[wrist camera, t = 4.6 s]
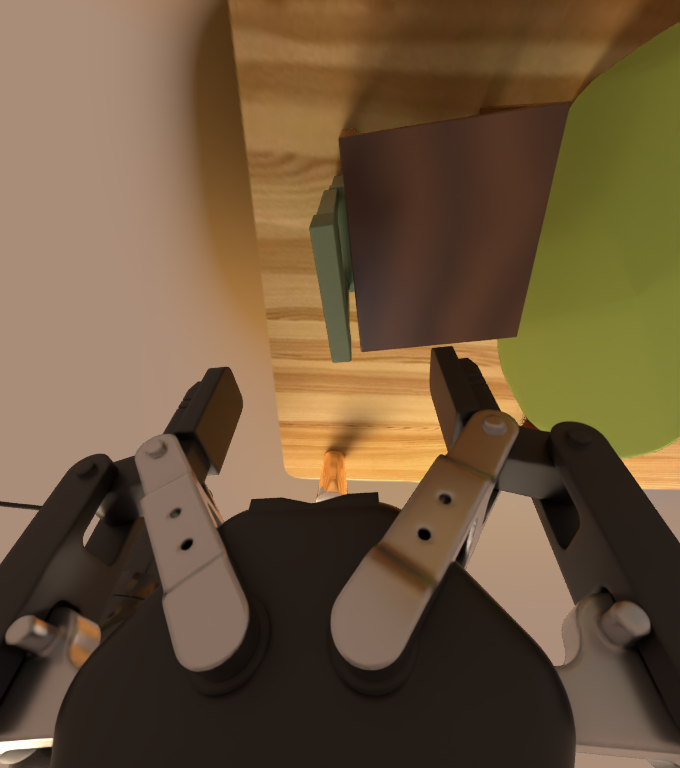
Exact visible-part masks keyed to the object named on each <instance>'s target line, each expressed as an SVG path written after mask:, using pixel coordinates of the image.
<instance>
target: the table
mask: <svg viewBox="0 0 680 768" xmlns="http://www.w3.org/2000/svg"><path fill="white" fill-rule="evenodd" d="M570 103H571V102H554V103H537V104H520V105H504V106H490V107H484V108H480V113H479V115H476V116H469V117H463V118H457V119H450V120H444V121H438V122H431V123H425V124H418V125H412V126H406V127H399V128H393V129H387V130H380V131H374V132H368V133H361V134H356V133H355V130H354V128H352V129H346V130H342V132H341V134H340V137H339V146H340V156H341V165H342V175H343V184H344V194H345V203H346V213H347V222H348V232H349V241H350V251H351V260H352V270H353V279H354V289H355V298H356V308H357V317H358V327H359V336H360V346H361V352H368V351H378V350H389V349H399V348H409V347H420V346H430V345H440V344H451V343H461V342H471V341H482V340H492V339H502V338H513V337H517V334H518V330H519V326H520V321H521V317H522V312H523V308H524V304H525V299H526V295H527V291H528V286H529V282H530V278H531V273H532V269H533V264H534V260H535V256H536V251H537V247H538V243H539V238H540V234H541V230H542V225H543V221H544V217H545V212H546V208H547V203H548V199H549V195H550V190H551V186H552V182H553V177H554V173H555V169H556V164H557V160H558V155H559V151H560V147H561V142H562V138H563V134H564V129H565V125H566V121H567V116H568V112H569V108H570Z"/></svg>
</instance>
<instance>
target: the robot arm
mask: <svg viewBox="0 0 680 768" xmlns="http://www.w3.org/2000/svg"><path fill="white" fill-rule="evenodd" d="M430 392H431V396H432V400H433V403H434V407H435V410H436V413H437V417H438V420H439V423H440V427H441V430H442V434H443V437H444V440H445V444H446V447H447V451H448V453H447V454H446V456H445V455H442V454H441V455H439V456H438V457H437V458H436V460H435V461H434V463H433V464H432V466H431V467H430V469H429V470H428V472H427V473H426V475H425V476H424V478H423V479H422V480H421V482H420V483H419V485H418V487H417V488H416V490H415V491H414V492H413V494H412V495H411V497H410V498H409V500H408V501H407V503H406V504H405V506H404V507H403V509H402V510H401V509H399V508H397V507H394V506H392V505H389V504H385V503H381V502H379V498H378V492H373V493H356V494H344V495H341V496H337V497H334V498H331V499H327V500H324V501H320V502H317V503H307V502H302V501H297V500H291V499H286V498H265V499H252V500H251V503H250V507H249V510H246V511H244V512H241V513H239V514H237V515H235V516H234V517H231V518H230V519H228V520H227V521H225V522H224V520H223V518H222V516H221V514H220V512H219V510H218V508H217V506H216V504H215V502H214V500H213V497H212V495H211V493H210V491H209V489H208V487H207V485H206V484H205V479H206V476H207V475H219V473H220V471H221V468H222V465H223V462H224V459H225V457H226V454H227V451H228V448H229V445H230V443H231V440H232V437H233V434H234V432H235V429H236V426H237V423H238V420H239V418H240V415H241V412H242V408H243V400H242V396H241V393H240V391H239V388H238V385H237V383H236V381H235V378H234V376H233V373H232V371H231V369H230V368H229V367H219V368H210V369H208V370H207V372H206V374H205V376H204V377H203V379H202V381H201V382H197V383H196V384H195V385H194V386H192V387H191V388H190V389H189V390H188V392H187V393H186V395H185V397H184V399H183V401H182V402H181V404H180V405H179V409H177V410H176V412H175V414H174V416H173V417H172V419H171V421H170V423H169V424H168V426H167V428H166V429H165V431H164V433H163V434H161V435H158V436H155V437H153V438H151V439H149V440H148V441H146V442H145V443H144V444H142V445H141V446H140V448H139V449H138V450H137V452H136V454H135V456H132V457H129V458H126V459H123V460H119V461H116V462H113V461H112V460H111V459H110V458H109V457H108V456H107V455H105V454H95V455H91V456H89V457H86V458H84V459H82V460H80V461H79V462H77V463H76V464H75V465H74V466H72V467H71V468H70V469H69V470H68V471H67V473H66V474H65V476H64V477H63V478H62V480H61V481H60V482H59V484H58V485H57V487H56V488H55V489H54V491H53V492H52V494H51V495H50V496H49V498H48V499H47V500H46V502H45V503H44V505H43V506H38V505H37V506H36V505H28V504H18V503H9V502H1V501H0V506H4V507H13V508H22V509H32V510H39V512H38V513H37V514H36V516H35V517H34V518H33V520H32V521H31V523H30V524H29V525H28V527H27V528H26V529H25V531H24V532H23V534H22V535H21V536H20V538H19V539H18V541H17V542H16V543H15V545H14V546H13V547H12V549H11V550H10V552H9V553H8V554H7V556H6V557H5V559H4V560H3V561H2V563H1V564H0V763H2V764H9V768H574V763H575V752H578V753H589V754H598V755H608V756H618V757H629V758H639V759H646V760H647V761H648V762H649V763H651V765H653V766H654V767H655V768H680V543H679V541H678V540H677V538H676V537H675V536H674V534H673V533H672V531H671V530H670V529H669V527H668V526H667V524H666V523H665V522H664V520H663V519H662V517H661V516H660V514H659V513H658V511H657V510H656V509H655V507H654V506H653V504H652V503H651V501H650V500H649V499H648V497H647V496H646V494H645V493H644V492H643V490H642V489H641V487H640V486H639V484H638V483H637V482H636V480H635V479H634V477H633V476H632V475H631V473H630V472H629V470H628V469H627V467H626V466H625V465H624V463H623V462H622V460H621V459H620V457H619V456H618V455H617V453H616V452H615V450H614V449H613V448H612V446H611V445H610V443H609V442H608V440H607V439H606V438H605V437H604V435H603V434H602V433H600V432H599V431H598V430H596V429H595V428H593V427H591V426H589V425H586V424H583V423H580V422H574V421H565V422H560V423H557V424H556V425H554V426H553V427H552V429H551V431H550V432H548V431H542V430H536V429H530V428H525V427H522V426H519V425H518V423H517V422H516V420H515V419H514V418H513V417H511V416H510V415H508V414H506V413H504V412H502V411H501V410H500V408H499V406H498V405H497V403H496V401H495V399H494V397H493V395H492V393H491V391H490V389H489V387H488V385H487V384H486V381H485V379H484V377H482V373H481V371H480V369H479V368H478V366H477V365H476V364H475V363H474V362H472V361H471V360H470V359H468V358H461V359H458V357H457V355H456V353H455V350H454V348H453V347H452V346H448V347H438V348H432V350H431V362H430ZM501 490H502V491H506V492H511V493H515V494H520V495H524V496H529V497H531V498H532V500H533V503H534V505H535V508H536V510H537V513H538V515H539V518H540V520H541V523H542V525H543V527H544V530H545V532H546V535H547V537H548V540H549V542H550V545H551V547H552V550H553V552H554V555H555V557H556V559H557V562H558V565H559V567H560V570H561V572H562V574H563V577H564V579H565V582H566V584H567V587H568V589H569V592H570V594H571V597H572V599H573V601H574V604H575V607H574V608H573V609H572V610H571V612H570V613H569V614H568V615H567V616H566V618H565V619H564V622H563V624H562V638H563V642H564V646H565V661H564V664H563V665H562V666H553V664H552V662H551V661H550V659H549V658H548V656H547V655H546V654H545V652H544V651H543V650H542V648H541V647H540V646H539V645H538V644H537V643H536V642H535V640H534V639H533V638H532V637H531V636H530V635H529V634H528V633H527V632H526V631H525V630H524V629H523V628H522V627H521V626H520V625H519V624H518V623H517V622H516V621H515V620H514V619H513V618H512V617H511V616H510V615H509V614H508V613H507V612H506V611H505V610H504V609H503V608H502V607H501V606H500V605H499V604H498V603H497V602H496V601H495V600H494V599H493V598H492V597H491V596H490V595H489V594H488V593H487V592H486V591H485V590H484V589H483V588H482V587H481V586H480V585H479V584H478V582H477V581H476V580H475V579H474V578H473V577H472V576H471V575H470V574H469V573H468V572H467V571H466V568H467V565H468V563H469V561H470V559H471V557H472V554H473V552H474V550H475V547H476V545H477V542H478V539H479V537H480V534H481V532H482V530H483V527H484V525H485V523H486V521H487V519H488V517H489V515H490V513H491V511H492V509H493V506H494V504H495V502H496V500H497V498H498V496H499V494H500V492H501ZM95 514H96V515H97V516H98V517H99V518H100V520H99V522H98V524H97V526H96V527H95V529H94V531H93V533H92V535H91V537H90V538H89V540H88V542H87V544H86V546H85V547H84V546H83V536H84V533H85V531H86V529H87V527H88V525H89V524H90V522H91V520H92V518H93V517H94V515H95Z"/></svg>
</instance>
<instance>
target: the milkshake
mask: <svg viewBox="0 0 680 768" xmlns="http://www.w3.org/2000/svg"><path fill="white" fill-rule="evenodd" d="M344 494H348V493H347V484H346V471H345V458H344V456H343V454H342V453H341V452H339V451H329V452H327V453H326V454H325V456H324V459H323V465H322V471H321V478H320V484H319V489H318V494H317V500H316V503H317V502H320V501H324V500H327V499H331V498H334V497H337V496H341V495H344Z"/></svg>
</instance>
